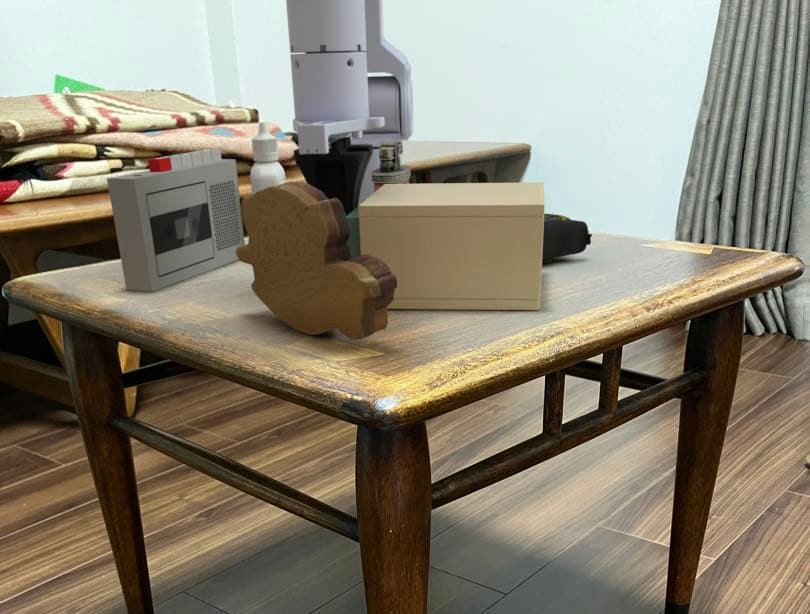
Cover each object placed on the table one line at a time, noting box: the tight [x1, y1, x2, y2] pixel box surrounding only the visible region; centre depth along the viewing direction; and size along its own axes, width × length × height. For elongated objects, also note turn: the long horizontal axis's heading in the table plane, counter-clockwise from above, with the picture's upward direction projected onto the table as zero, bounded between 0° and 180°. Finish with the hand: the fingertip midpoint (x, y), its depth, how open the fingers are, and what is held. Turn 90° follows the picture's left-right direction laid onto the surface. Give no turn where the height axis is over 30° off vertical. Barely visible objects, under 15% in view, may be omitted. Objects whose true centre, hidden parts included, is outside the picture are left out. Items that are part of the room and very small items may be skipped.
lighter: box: [371, 141, 412, 193], centre depth 87 cm, size 8×3×10 cm, turn 168°
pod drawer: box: [346, 207, 361, 258], centre depth 71 cm, size 17×11×6 cm
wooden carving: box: [236, 180, 397, 340], centre depth 61 cm, size 16×5×10 cm, turn 44°
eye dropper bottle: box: [249, 121, 287, 194], centre depth 87 cm, size 4×6×12 cm
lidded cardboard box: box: [358, 182, 546, 311], centre depth 71 cm, size 14×13×8 cm
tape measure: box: [542, 213, 593, 264], centre depth 82 cm, size 7×7×4 cm
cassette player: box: [106, 148, 246, 293], centre depth 80 cm, size 16×3×10 cm, turn 158°
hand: (339, 242), depth 72 cm, fingers closed, pressing on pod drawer
